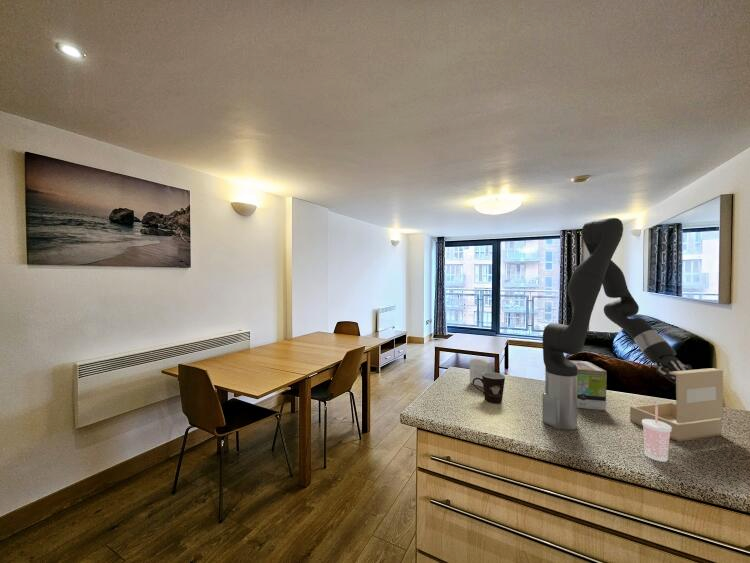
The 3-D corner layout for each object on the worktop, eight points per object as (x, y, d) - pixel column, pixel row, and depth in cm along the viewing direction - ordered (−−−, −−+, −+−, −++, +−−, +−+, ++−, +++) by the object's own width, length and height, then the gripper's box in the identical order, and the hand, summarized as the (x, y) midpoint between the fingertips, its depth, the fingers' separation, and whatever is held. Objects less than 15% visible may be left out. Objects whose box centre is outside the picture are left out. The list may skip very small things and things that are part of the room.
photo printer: (493, 387, 140) (493, 359, 140) (487, 389, 138) (487, 361, 137) (474, 381, 148) (474, 355, 148) (468, 383, 146) (468, 356, 146)
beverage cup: (647, 460, 84) (647, 408, 84) (637, 448, 90) (638, 399, 90) (676, 465, 82) (677, 411, 82) (664, 453, 88) (665, 403, 88)
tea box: (607, 410, 116) (607, 370, 116) (577, 408, 118) (577, 369, 118) (588, 396, 131) (588, 360, 131) (561, 394, 133) (562, 359, 133)
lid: (669, 419, 96) (679, 423, 93) (669, 371, 96) (678, 374, 94) (713, 414, 100) (723, 417, 98) (712, 368, 100) (723, 370, 98)
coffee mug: (506, 399, 127) (507, 374, 126) (502, 406, 119) (502, 380, 119) (477, 393, 133) (477, 369, 133) (471, 400, 125) (471, 375, 125)
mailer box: (677, 441, 94) (678, 425, 94) (630, 421, 108) (630, 406, 107) (721, 435, 98) (721, 419, 98) (670, 416, 112) (670, 401, 112)
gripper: (647, 341, 104) (692, 391, 93) (677, 339, 108) (723, 387, 96) (631, 353, 110) (670, 402, 98) (659, 351, 113) (701, 398, 101)
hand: (697, 394), depth 97 cm, fingers closed
